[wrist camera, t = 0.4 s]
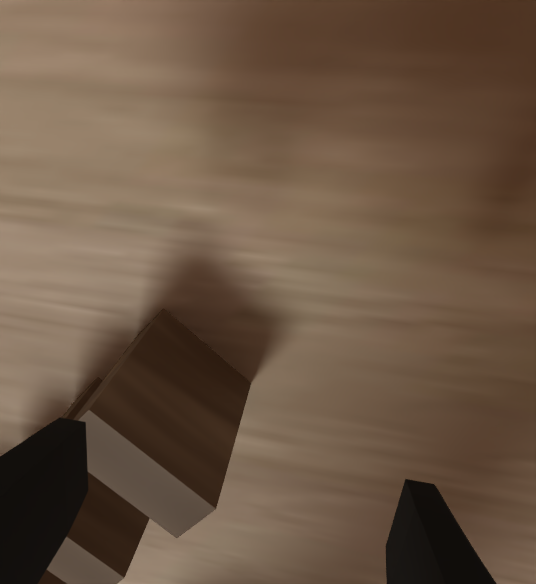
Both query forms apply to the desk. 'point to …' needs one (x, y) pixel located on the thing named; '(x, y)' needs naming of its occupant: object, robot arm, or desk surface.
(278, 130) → the desk surface
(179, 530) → the domino
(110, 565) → the domino
